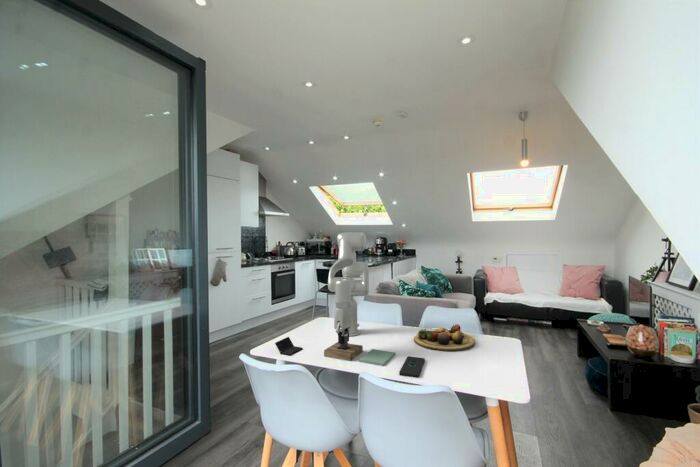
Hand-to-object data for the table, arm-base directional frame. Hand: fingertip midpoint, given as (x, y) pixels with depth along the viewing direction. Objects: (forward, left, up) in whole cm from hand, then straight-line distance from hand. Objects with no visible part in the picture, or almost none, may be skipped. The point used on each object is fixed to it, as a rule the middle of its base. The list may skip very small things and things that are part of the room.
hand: (343, 341), depth 162 cm
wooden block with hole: (0, 0, -6) cm, 6 cm away
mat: (-2, +17, -6) cm, 18 cm away
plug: (0, 0, -4) cm, 4 cm away
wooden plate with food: (-39, +41, -6) cm, 57 cm away
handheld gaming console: (+8, -27, -6) cm, 29 cm away
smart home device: (+2, +35, -7) cm, 36 cm away
